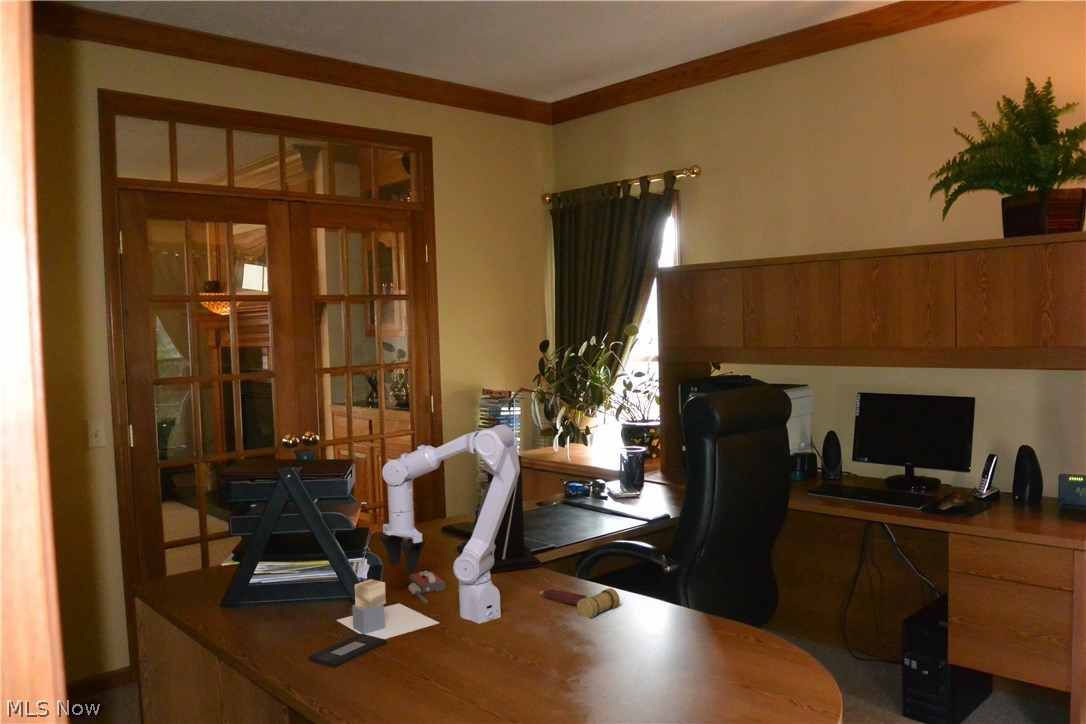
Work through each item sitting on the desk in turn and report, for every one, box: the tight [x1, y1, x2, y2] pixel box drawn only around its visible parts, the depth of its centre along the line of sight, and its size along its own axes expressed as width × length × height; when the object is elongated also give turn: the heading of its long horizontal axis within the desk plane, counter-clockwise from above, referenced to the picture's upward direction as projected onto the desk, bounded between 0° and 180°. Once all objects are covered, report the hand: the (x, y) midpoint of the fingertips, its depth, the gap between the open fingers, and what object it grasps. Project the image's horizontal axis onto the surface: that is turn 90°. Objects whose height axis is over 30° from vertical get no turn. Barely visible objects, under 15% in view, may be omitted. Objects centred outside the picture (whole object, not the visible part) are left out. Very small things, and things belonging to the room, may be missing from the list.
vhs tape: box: [308, 633, 388, 669], centre depth 168 cm, size 8×14×2 cm, turn 147°
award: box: [456, 454, 543, 575], centre depth 237 cm, size 30×19×30 cm, turn 17°
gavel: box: [538, 587, 621, 619], centre depth 196 cm, size 21×5×10 cm
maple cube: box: [354, 578, 387, 609], centre depth 182 cm, size 5×5×5 cm
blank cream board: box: [336, 603, 440, 640], centre depth 185 cm, size 18×16×1 cm
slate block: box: [351, 604, 385, 634], centre depth 181 cm, size 5×5×5 cm
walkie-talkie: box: [406, 570, 447, 604], centre depth 208 cm, size 9×4×20 cm
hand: (403, 568), depth 193 cm, fingers open, 7 cm apart
